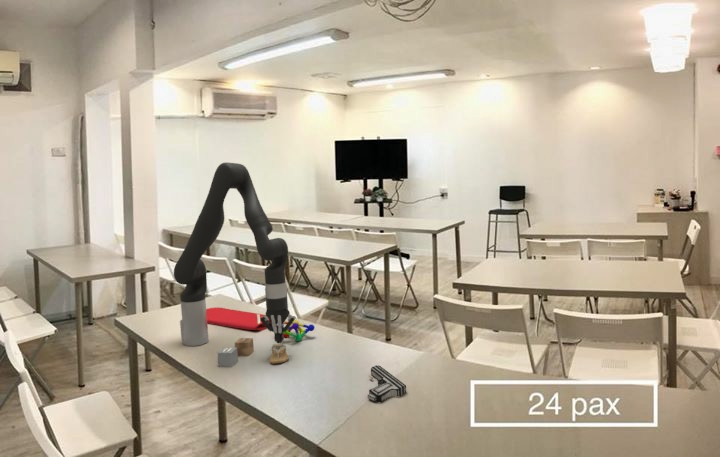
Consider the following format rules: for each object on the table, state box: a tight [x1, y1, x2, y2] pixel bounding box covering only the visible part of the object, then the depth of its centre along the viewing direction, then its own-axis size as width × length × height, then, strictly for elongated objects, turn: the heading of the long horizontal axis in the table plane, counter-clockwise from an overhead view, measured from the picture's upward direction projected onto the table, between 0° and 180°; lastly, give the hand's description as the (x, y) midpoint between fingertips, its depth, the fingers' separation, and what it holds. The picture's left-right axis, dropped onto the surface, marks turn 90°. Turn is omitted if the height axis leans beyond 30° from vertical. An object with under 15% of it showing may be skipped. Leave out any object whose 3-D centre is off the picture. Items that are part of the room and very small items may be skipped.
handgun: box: [367, 364, 407, 403], centre depth 156 cm, size 3×19×12 cm
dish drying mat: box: [206, 307, 272, 331], centre depth 228 cm, size 16×41×4 cm, turn 58°
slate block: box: [217, 347, 239, 368], centre depth 179 cm, size 5×5×5 cm
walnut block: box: [234, 337, 255, 357], centre depth 188 cm, size 5×5×5 cm
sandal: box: [269, 343, 289, 364], centre depth 184 cm, size 7×16×5 cm, turn 14°
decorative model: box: [283, 320, 315, 342], centre depth 202 cm, size 13×9×15 cm
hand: (279, 342), depth 184 cm, fingers closed
